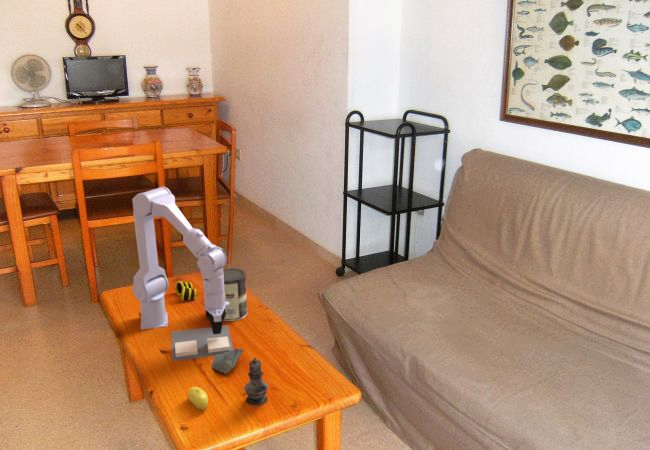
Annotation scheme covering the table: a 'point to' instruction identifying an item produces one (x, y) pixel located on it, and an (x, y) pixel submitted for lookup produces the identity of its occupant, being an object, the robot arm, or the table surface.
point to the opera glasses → (185, 290)
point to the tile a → (186, 349)
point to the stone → (226, 360)
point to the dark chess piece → (256, 385)
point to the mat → (198, 340)
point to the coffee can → (235, 294)
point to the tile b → (218, 345)
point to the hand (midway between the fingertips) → (216, 332)
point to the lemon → (198, 397)
